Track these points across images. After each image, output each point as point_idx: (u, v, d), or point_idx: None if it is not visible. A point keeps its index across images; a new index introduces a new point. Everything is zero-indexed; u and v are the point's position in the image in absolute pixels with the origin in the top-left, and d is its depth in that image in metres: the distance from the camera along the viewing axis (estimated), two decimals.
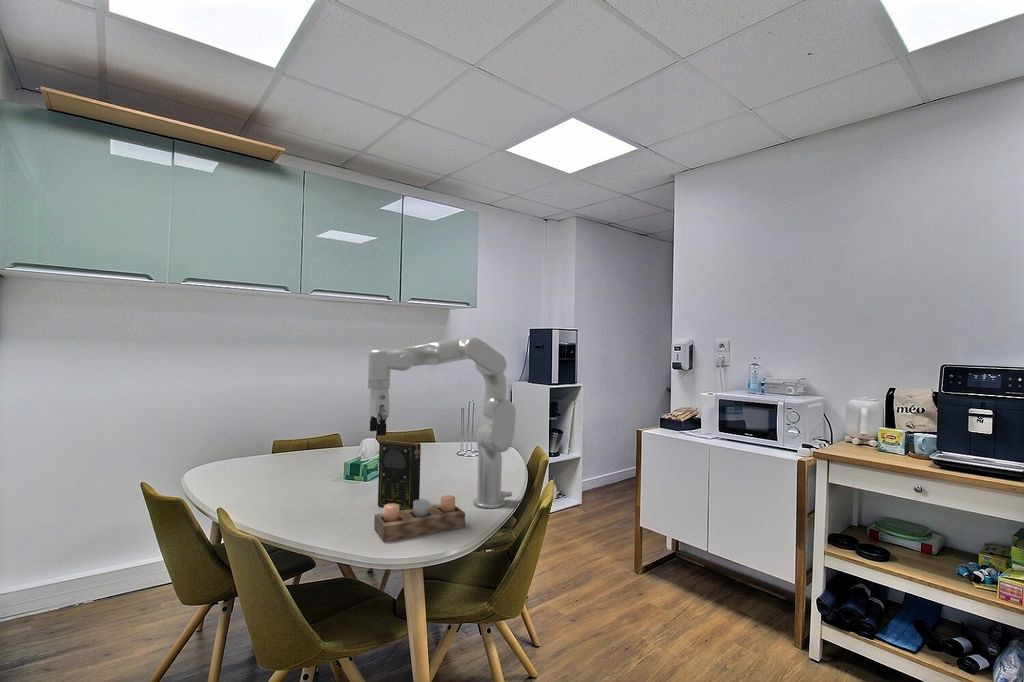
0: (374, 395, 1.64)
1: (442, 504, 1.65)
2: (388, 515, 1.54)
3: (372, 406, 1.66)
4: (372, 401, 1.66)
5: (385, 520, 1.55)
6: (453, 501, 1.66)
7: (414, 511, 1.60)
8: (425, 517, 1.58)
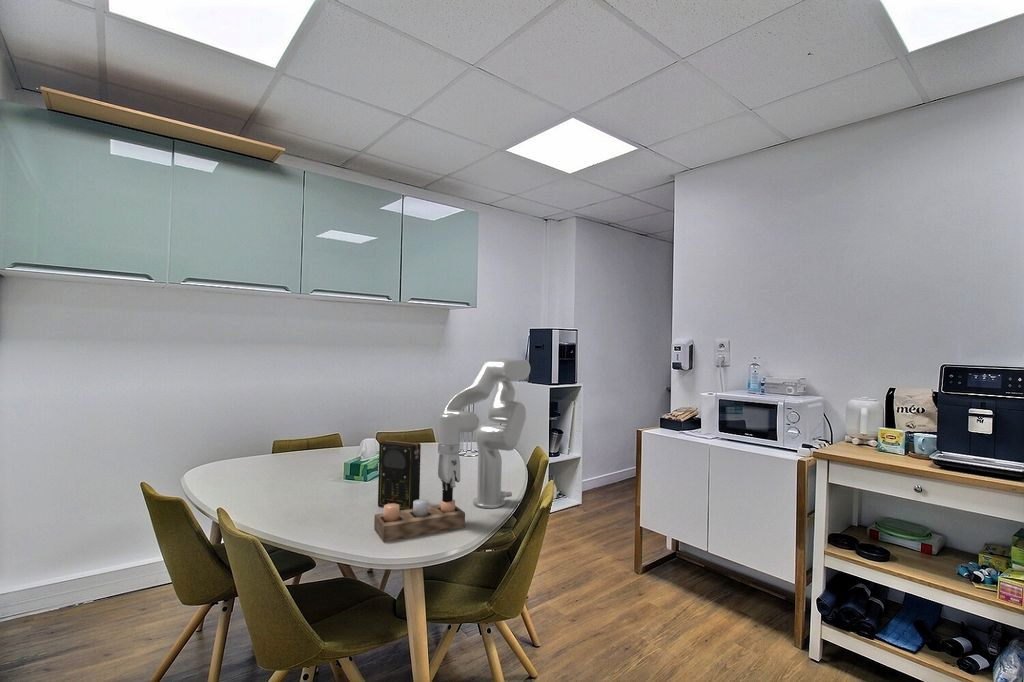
0: (446, 460, 1.63)
1: (442, 507, 1.65)
2: (388, 515, 1.54)
3: (443, 471, 1.65)
4: (443, 466, 1.65)
5: (385, 520, 1.55)
6: (453, 504, 1.66)
7: (414, 511, 1.60)
8: (425, 517, 1.58)
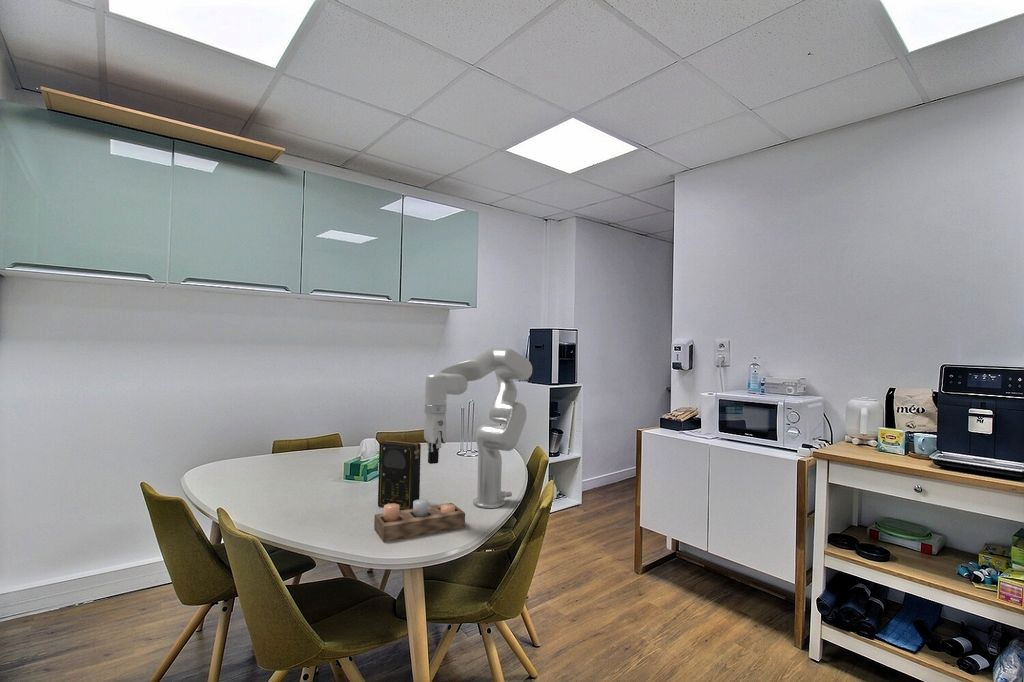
0: (432, 421, 1.61)
1: None
2: (388, 515, 1.54)
3: (429, 432, 1.62)
4: (429, 427, 1.62)
5: (385, 520, 1.55)
6: (453, 510, 1.66)
7: (414, 511, 1.60)
8: (425, 517, 1.58)
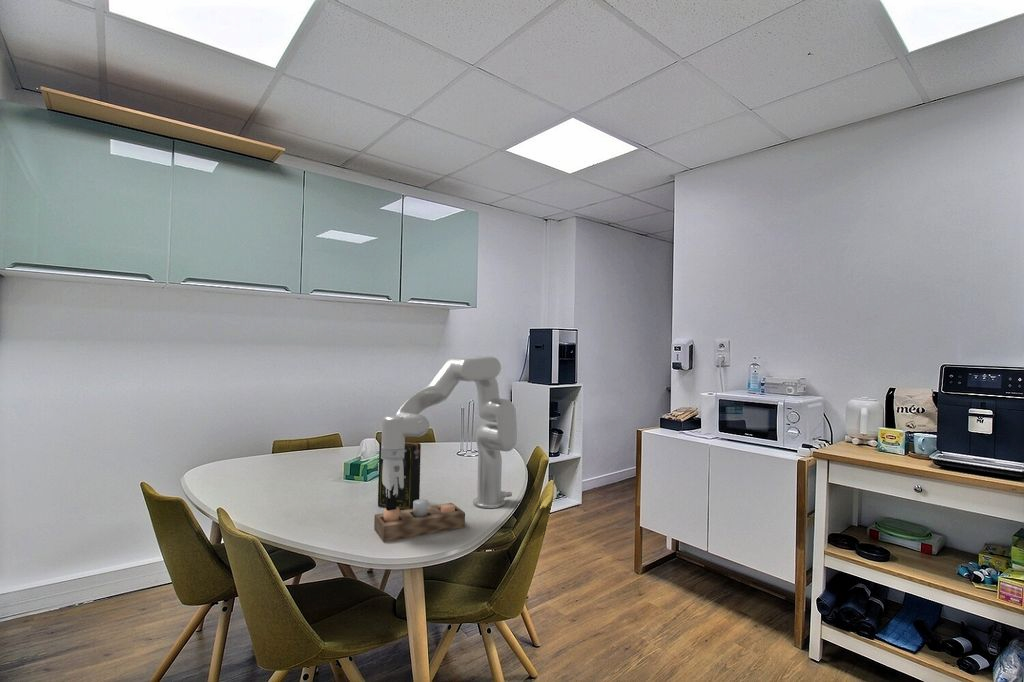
0: (388, 466, 1.53)
1: None
2: (388, 518, 1.54)
3: (385, 477, 1.55)
4: (385, 472, 1.55)
5: None
6: (453, 510, 1.66)
7: (414, 511, 1.60)
8: (425, 517, 1.58)
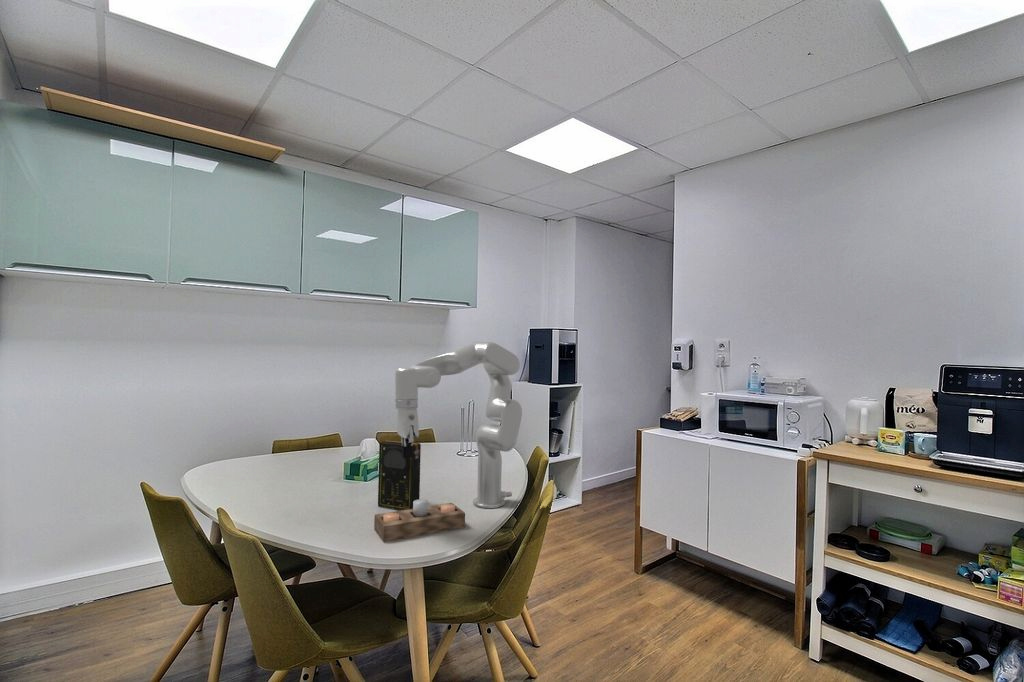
0: (403, 415, 1.58)
1: None
2: None
3: (401, 426, 1.60)
4: (401, 421, 1.60)
5: None
6: (453, 510, 1.66)
7: (414, 511, 1.60)
8: (425, 517, 1.58)
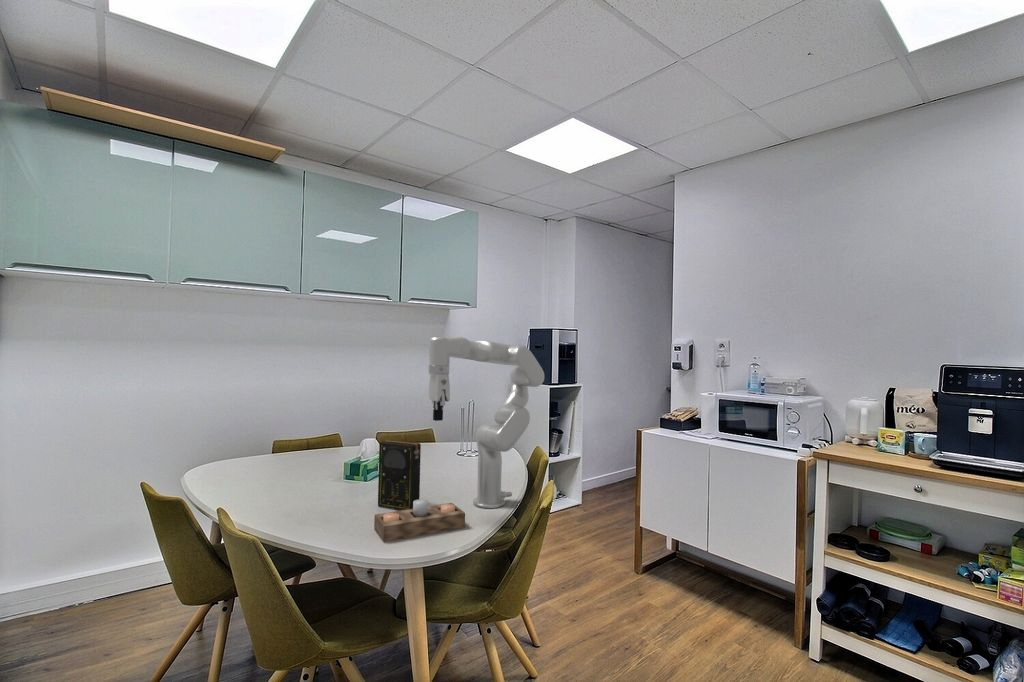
0: (436, 380, 1.71)
1: None
2: None
3: (433, 391, 1.73)
4: (433, 386, 1.73)
5: None
6: (453, 510, 1.66)
7: (414, 511, 1.60)
8: (425, 517, 1.58)
